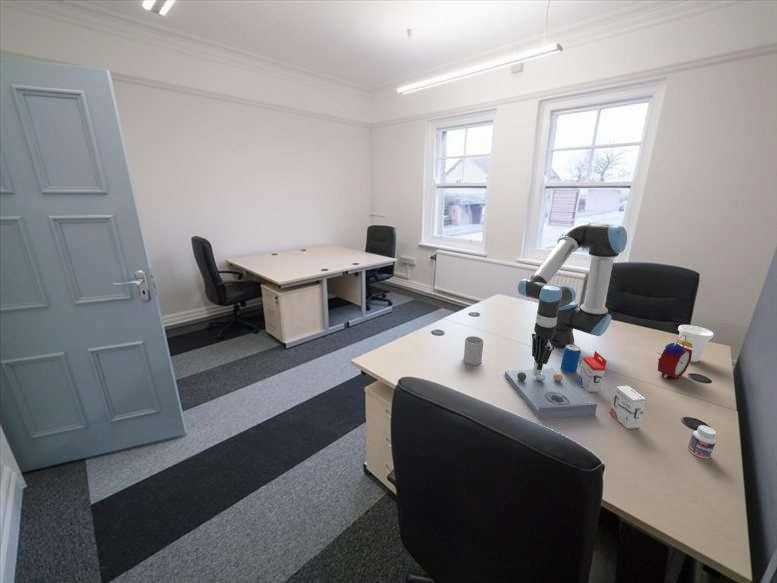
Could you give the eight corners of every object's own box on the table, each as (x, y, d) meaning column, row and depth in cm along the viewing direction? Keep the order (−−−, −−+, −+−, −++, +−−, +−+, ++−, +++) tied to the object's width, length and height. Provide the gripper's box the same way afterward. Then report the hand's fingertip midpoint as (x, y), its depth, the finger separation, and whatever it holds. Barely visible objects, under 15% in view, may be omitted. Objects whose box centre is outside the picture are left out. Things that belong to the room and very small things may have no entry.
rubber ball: (523, 377, 137) (524, 370, 136) (527, 382, 134) (528, 374, 133) (515, 377, 137) (516, 370, 136) (519, 382, 134) (520, 375, 133)
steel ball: (542, 371, 136) (547, 375, 132) (541, 378, 137) (546, 383, 133) (534, 371, 136) (538, 375, 132) (533, 379, 136) (538, 383, 133)
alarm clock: (670, 383, 138) (683, 341, 132) (647, 373, 145) (659, 333, 139) (686, 374, 145) (700, 334, 138) (664, 365, 152) (675, 326, 146)
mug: (481, 366, 151) (483, 345, 147) (463, 363, 153) (464, 342, 149) (481, 354, 162) (483, 334, 158) (464, 351, 164) (465, 332, 160)
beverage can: (574, 368, 149) (579, 345, 145) (577, 375, 143) (582, 351, 140) (559, 366, 151) (563, 343, 147) (561, 373, 145) (566, 349, 142)
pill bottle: (691, 456, 101) (700, 433, 98) (684, 444, 105) (692, 421, 102) (713, 461, 99) (722, 437, 96) (704, 448, 103) (713, 426, 101)
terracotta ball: (558, 378, 137) (560, 370, 136) (563, 382, 134) (565, 375, 133) (551, 378, 137) (552, 371, 136) (555, 383, 133) (557, 376, 132)
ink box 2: (577, 380, 140) (583, 350, 136) (588, 380, 140) (595, 350, 135) (588, 392, 132) (595, 360, 127) (600, 392, 132) (608, 360, 127)
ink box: (608, 412, 120) (615, 385, 116) (620, 412, 120) (628, 384, 117) (626, 429, 112) (634, 400, 108) (640, 428, 112) (648, 399, 108)
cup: (703, 357, 159) (713, 329, 154) (703, 367, 150) (714, 338, 145) (671, 349, 167) (679, 322, 162) (669, 358, 158) (678, 330, 154)
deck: (504, 375, 143) (505, 366, 142) (551, 373, 145) (552, 364, 144) (539, 418, 117) (540, 408, 115) (595, 414, 119) (597, 404, 117)
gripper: (528, 318, 135) (520, 367, 143) (545, 331, 123) (536, 384, 130) (545, 317, 136) (536, 366, 143) (564, 330, 124) (553, 383, 131)
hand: (536, 374), depth 137 cm, fingers closed
